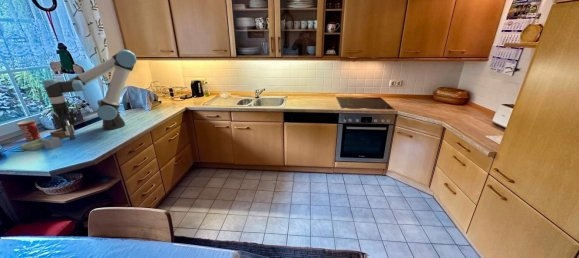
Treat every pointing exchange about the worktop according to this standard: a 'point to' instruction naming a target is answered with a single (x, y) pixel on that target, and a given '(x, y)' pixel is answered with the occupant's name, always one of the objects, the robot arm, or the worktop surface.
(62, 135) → the bored block
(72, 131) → the pin gauge
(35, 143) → the tray
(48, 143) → the block
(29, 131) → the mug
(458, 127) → the worktop surface
